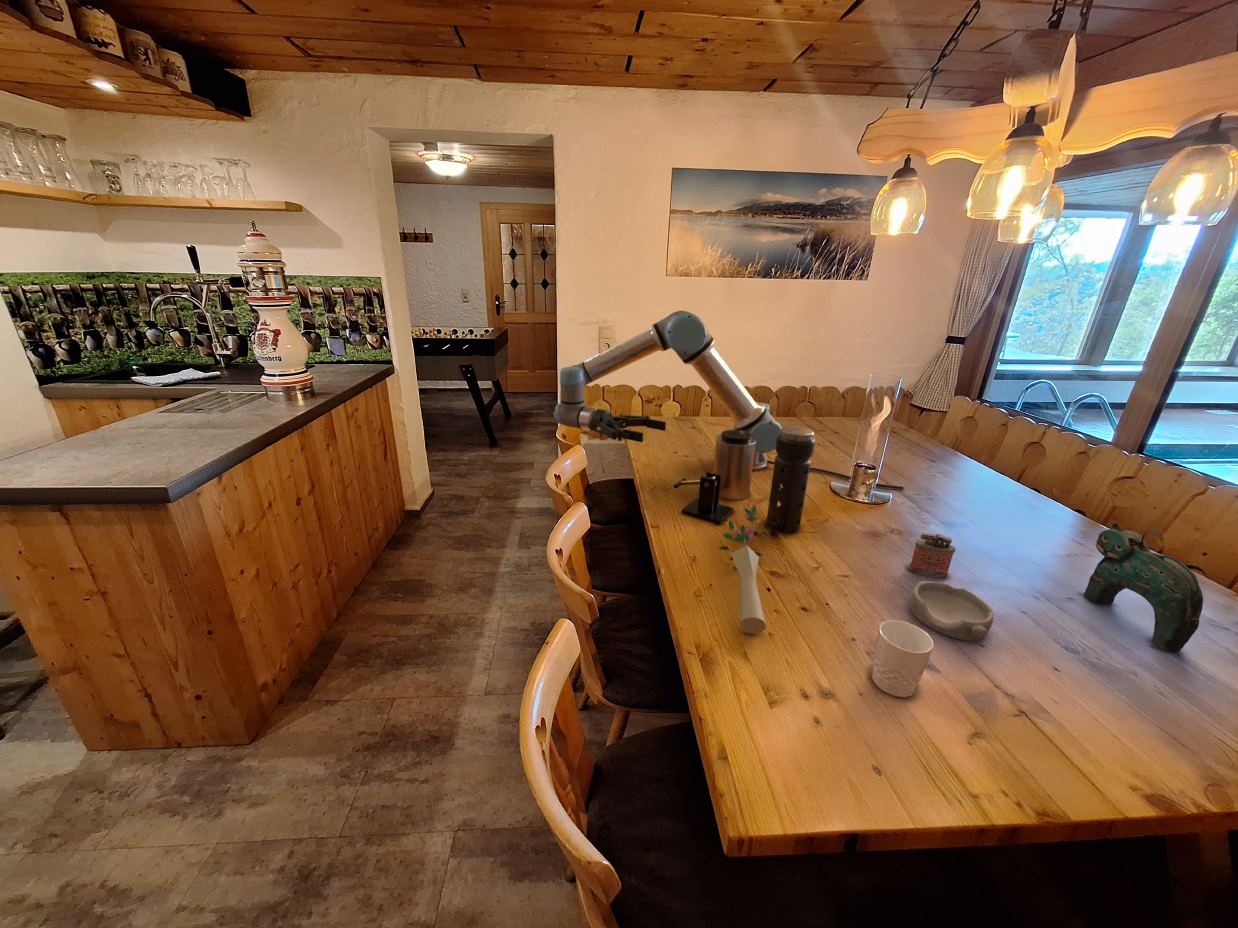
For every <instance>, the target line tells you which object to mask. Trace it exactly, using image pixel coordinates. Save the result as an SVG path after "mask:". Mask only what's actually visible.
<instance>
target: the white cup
mask: <svg viewBox="0 0 1238 928" xmlns="http://www.w3.org/2000/svg"><path fill="white" fill-rule="evenodd" d="M934 645H935V644H934V640H933V638H932V637H931V636H930V635H929V634H928V633H927V631H925V630H923V629H921V628H920V627H919V626H916V625H914V624H912V623H909V622H907V621H904V620H896V619H888V620H885V621H882V622H881V623H880V624H879V627H878V632H877V638H876V643H875V648H874V654H873V661H872V668H871V673H870V674H871V679H872V681H873V683H874V684H875V685H876V687H877V688H879V689H880V690H882V691H883V692H885V693H887V694H889V695H891V696H894V697H899V698H907V697H911V696H913V695H914V694H915V692H916V690H917V687H918V685H919V683H920V681H921V679H922V676H923V674H924V672H925V669H926V667H927V664H928V661H929V660H930V656H931V654H932V651H933V650H934Z"/></svg>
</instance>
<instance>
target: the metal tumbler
mask: <svg viewBox="0 0 1238 928" xmlns="http://www.w3.org/2000/svg"><path fill="white" fill-rule="evenodd" d="M755 443H756V440H755V439H754V438H753V437H751V434H750V433H748V432H745V431H741V430H733V429H725V430H723V431H721V433H720V434H718V435H717V436H716V437H715V445H714V456H713V457H714V458H713V466H712V467H713V468H712V473H716V474H720V475H722V477H721V487H720V497H719V499H724V500H731V501H738V500H745V499H747V498H748V497H749V496H750V490H751V484H752V476H753V475H752V474H753V470H752V468H753V460H754V452H755Z"/></svg>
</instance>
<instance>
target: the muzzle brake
mask: <svg viewBox="0 0 1238 928" xmlns="http://www.w3.org/2000/svg"><path fill="white" fill-rule="evenodd" d="M814 434H815V433H814V431H813V429H811V428H808V427H805V426H800V425H785V426H783V427H782V426H781V433H779V434H778V436H777V441H776V448H775V449H774V450H775V452H776V454H777V455H775V458H774V462H775V463H774V465H773V472H772V479H771V485H770V492H769V493H770V494H769V500H768V506H767V513H766V522H765V526H766V527H768V528H769V529H770V530H772V531H773V532H777V533H780V534H794V533H797V532H798V531H800V528H801V523H802V515H803V510H804V505H805V498H806V493H807V492H806V491H807V486H808V480H809V475H810V470H809V469H810V468H811V459H810V458H812V456H813V455H814V453H815V447H816V439H815V436H814ZM778 504H780V505H778ZM776 520H777V522H776Z"/></svg>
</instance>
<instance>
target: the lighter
mask: <svg viewBox="0 0 1238 928" xmlns="http://www.w3.org/2000/svg"><path fill="white" fill-rule="evenodd" d="M952 541H953V539H952V537H947V536H943V535H942V534H941V533H937V534H931V533H925V532H922V533H921V535H920V539H916V540H915V543H914V545H915V546H914V550H913V554H912V557H911V561H910V564H909V565H908V570H909V572H911V573H914V574H918V575H922V576H927V577H933V578H940V579H946V578H948V576H949V569H950V566H951V562H952V561H953V560H952V559H953V556H954V553H955V552H956V546H953V545H952Z"/></svg>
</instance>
